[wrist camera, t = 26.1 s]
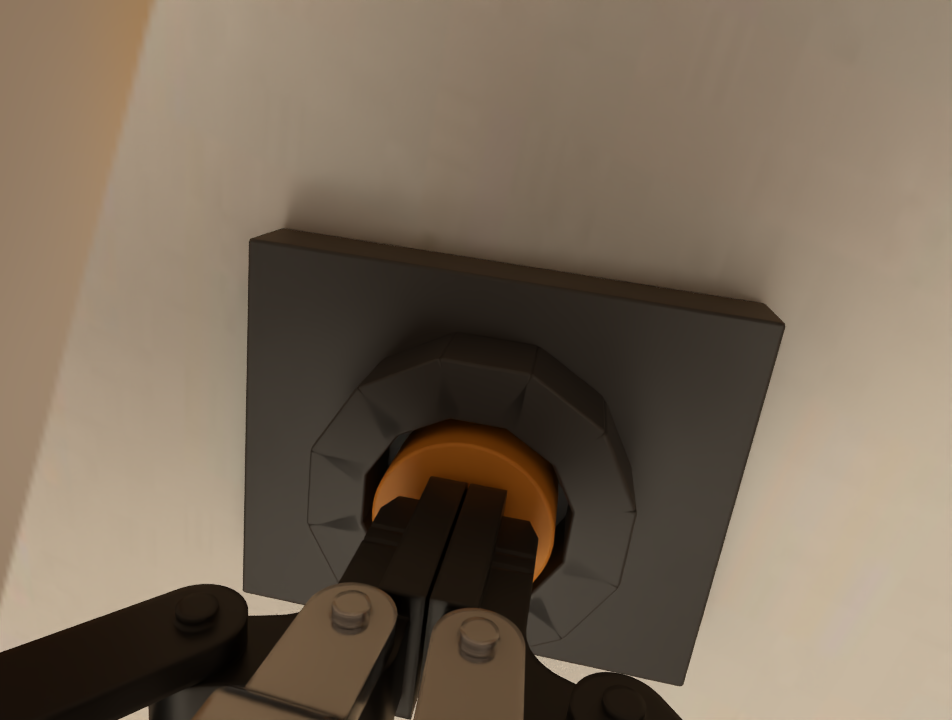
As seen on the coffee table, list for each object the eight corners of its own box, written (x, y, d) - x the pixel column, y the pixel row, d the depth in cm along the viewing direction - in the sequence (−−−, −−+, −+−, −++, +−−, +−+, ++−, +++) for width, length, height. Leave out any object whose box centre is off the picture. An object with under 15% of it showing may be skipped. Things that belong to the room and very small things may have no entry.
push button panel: (270, 554, 19) (204, 642, 16) (281, 227, 16) (202, 252, 13) (675, 639, 18) (693, 753, 15) (766, 303, 15) (816, 351, 12)
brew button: (388, 539, 16) (364, 586, 14) (402, 394, 15) (378, 427, 13) (544, 571, 16) (538, 623, 14) (571, 424, 14) (569, 463, 13)
